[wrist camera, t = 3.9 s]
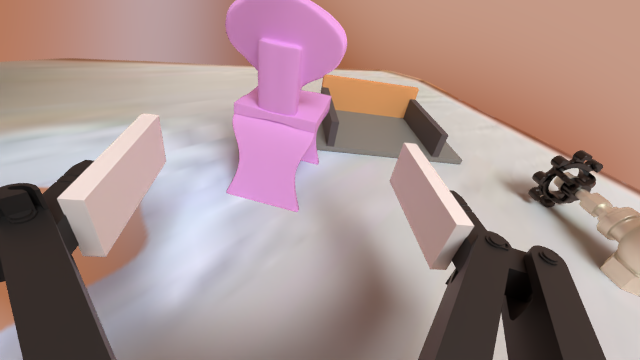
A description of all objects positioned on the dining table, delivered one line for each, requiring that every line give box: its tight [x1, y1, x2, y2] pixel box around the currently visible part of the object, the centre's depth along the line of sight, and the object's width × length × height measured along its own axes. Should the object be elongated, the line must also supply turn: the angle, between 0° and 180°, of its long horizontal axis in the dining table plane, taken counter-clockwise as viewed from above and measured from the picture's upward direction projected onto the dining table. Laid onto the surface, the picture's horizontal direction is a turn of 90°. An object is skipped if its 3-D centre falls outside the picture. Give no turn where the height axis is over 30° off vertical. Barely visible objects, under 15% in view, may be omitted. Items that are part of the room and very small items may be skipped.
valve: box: [528, 151, 640, 297], centre depth 25 cm, size 7×7×12 cm
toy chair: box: [225, 0, 347, 212], centre depth 24 cm, size 8×9×15 cm
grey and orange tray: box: [316, 74, 462, 164], centre depth 38 cm, size 20×13×5 cm, turn 95°
